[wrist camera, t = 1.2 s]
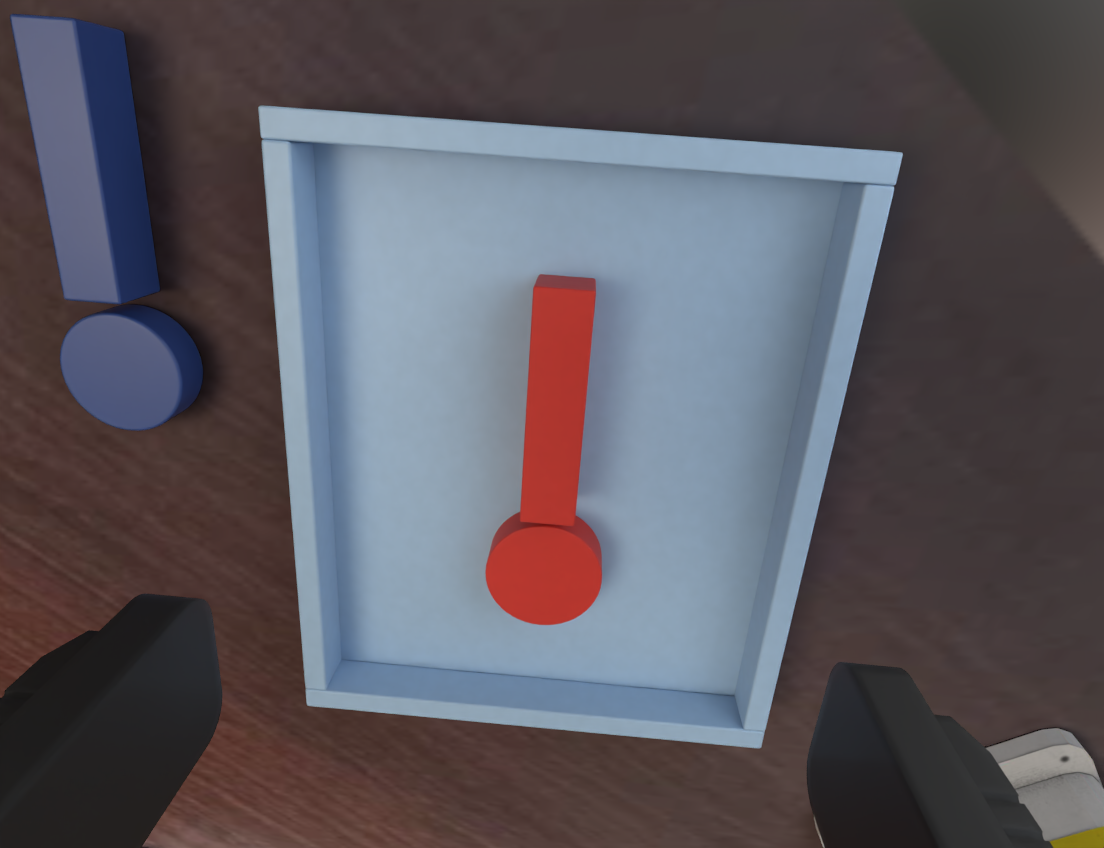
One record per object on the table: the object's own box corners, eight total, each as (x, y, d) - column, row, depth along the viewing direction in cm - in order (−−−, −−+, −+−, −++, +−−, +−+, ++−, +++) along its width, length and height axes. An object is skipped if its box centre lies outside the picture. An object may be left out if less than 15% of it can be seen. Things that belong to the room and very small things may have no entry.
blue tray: (292, 110, 17) (256, 105, 16) (870, 152, 17) (904, 152, 15) (328, 663, 24) (305, 706, 22) (747, 702, 23) (761, 749, 22)
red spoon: (502, 270, 18) (493, 283, 16) (632, 280, 18) (636, 294, 16) (488, 596, 22) (480, 633, 20) (596, 606, 22) (596, 644, 20)
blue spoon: (26, 23, 17) (-35, 10, 15) (163, 33, 17) (115, 20, 15) (99, 411, 21) (56, 434, 19) (210, 421, 21) (177, 445, 19)
